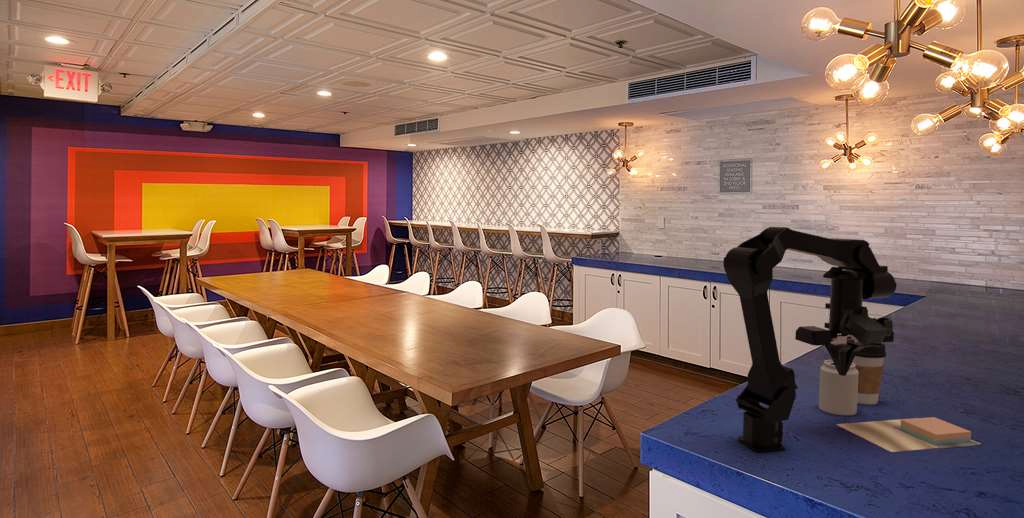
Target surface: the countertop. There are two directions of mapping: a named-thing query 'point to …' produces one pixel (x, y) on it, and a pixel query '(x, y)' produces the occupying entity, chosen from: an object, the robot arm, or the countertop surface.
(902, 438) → the board
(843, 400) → the can
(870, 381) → the coffee cup
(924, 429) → the tile
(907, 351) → the countertop surface
